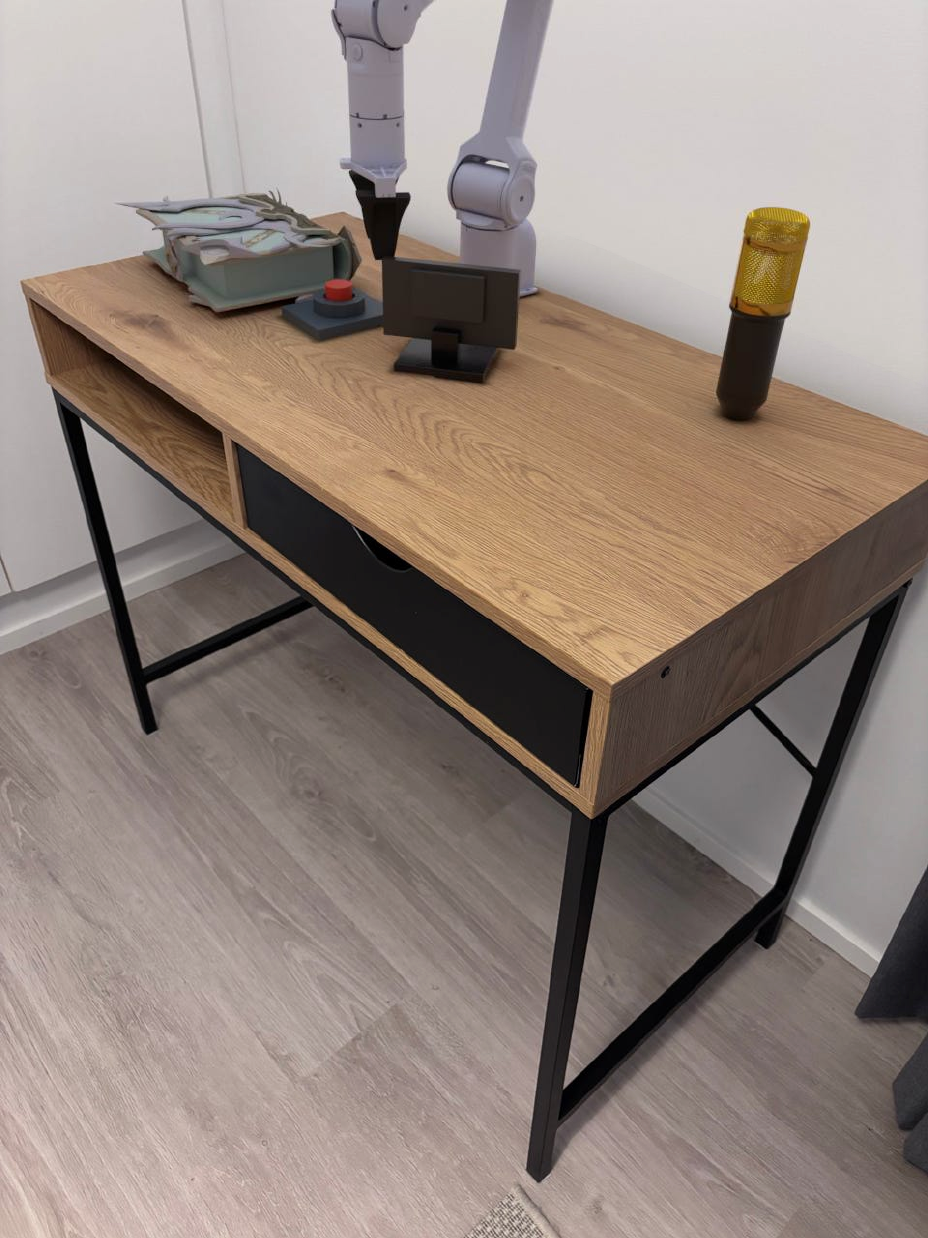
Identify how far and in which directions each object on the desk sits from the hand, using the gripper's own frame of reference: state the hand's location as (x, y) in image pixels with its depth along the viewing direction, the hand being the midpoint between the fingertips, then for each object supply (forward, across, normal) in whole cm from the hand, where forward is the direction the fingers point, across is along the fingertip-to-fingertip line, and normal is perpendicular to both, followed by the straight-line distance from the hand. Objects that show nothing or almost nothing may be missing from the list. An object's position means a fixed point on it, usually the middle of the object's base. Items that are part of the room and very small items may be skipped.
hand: (380, 247), depth 111 cm
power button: (+8, -6, -5) cm, 10 cm away
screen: (+8, +8, +7) cm, 13 cm away
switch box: (+10, -6, -5) cm, 13 cm away
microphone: (+10, +22, +33) cm, 40 cm away
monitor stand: (+10, +8, +7) cm, 14 cm away
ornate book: (+10, -22, -16) cm, 29 cm away
